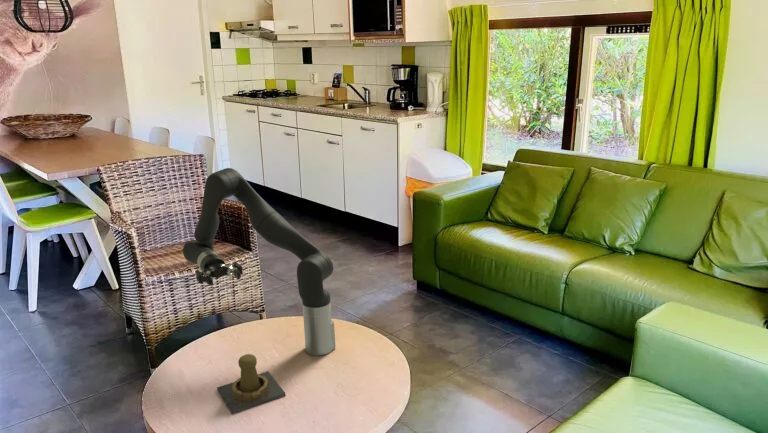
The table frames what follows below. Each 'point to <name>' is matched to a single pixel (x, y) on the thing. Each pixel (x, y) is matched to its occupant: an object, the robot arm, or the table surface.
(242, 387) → the cork
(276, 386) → the collar plate
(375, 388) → the table surface
